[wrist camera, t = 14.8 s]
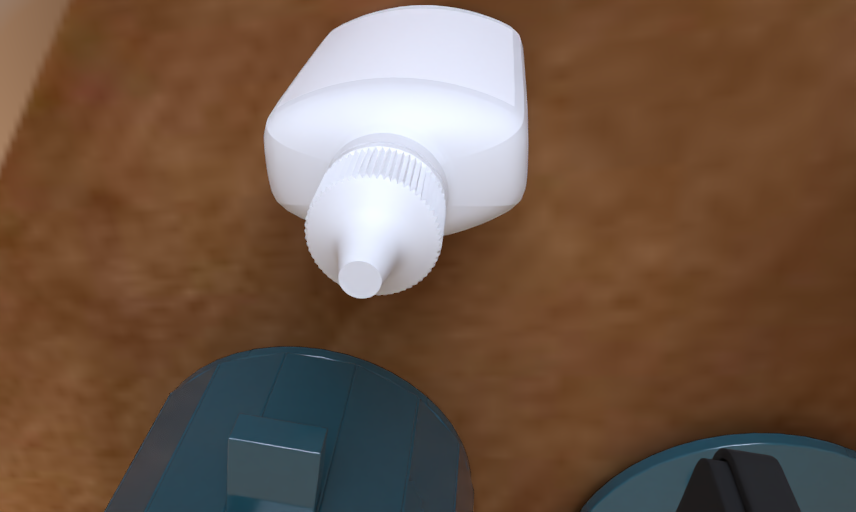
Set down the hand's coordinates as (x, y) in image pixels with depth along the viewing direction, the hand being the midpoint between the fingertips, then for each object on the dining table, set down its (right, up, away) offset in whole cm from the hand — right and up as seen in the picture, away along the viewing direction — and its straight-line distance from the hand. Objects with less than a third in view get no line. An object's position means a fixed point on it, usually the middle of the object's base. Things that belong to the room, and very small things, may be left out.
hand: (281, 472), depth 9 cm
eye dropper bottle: (+2, +8, +14) cm, 16 cm away
